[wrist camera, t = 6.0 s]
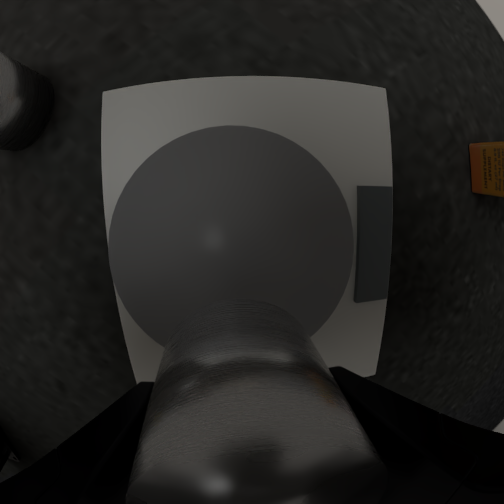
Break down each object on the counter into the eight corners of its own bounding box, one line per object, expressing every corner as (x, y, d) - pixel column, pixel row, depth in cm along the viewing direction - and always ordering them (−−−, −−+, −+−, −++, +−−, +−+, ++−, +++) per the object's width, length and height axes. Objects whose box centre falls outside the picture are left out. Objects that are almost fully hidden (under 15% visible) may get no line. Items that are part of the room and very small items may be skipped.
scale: (360, 355, 16) (380, 380, 13) (148, 375, 15) (138, 405, 12) (366, 98, 13) (392, 85, 10) (117, 103, 12) (97, 88, 9)
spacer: (316, 291, 8) (422, 412, 3) (308, 412, 9) (358, 533, 4) (151, 302, 7) (80, 445, 3) (176, 422, 8) (163, 553, 4)
